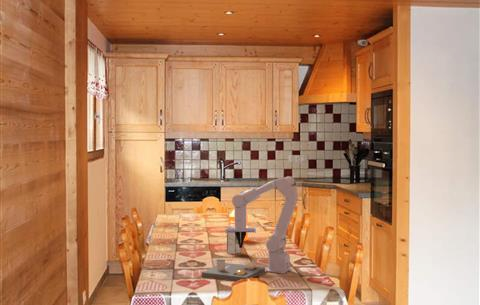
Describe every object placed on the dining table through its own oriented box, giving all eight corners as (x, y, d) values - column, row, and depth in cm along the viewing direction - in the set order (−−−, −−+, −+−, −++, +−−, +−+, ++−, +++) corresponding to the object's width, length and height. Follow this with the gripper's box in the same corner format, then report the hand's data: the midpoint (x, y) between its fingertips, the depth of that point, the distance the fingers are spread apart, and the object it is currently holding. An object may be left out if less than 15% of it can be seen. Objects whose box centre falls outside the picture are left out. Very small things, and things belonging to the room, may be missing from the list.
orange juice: (247, 239, 333) (247, 206, 332) (239, 242, 326) (238, 208, 325) (237, 238, 337) (237, 205, 337) (228, 240, 330) (228, 207, 330)
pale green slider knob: (225, 269, 252) (225, 259, 252) (223, 270, 251) (223, 260, 251) (218, 268, 254) (218, 258, 254) (216, 269, 252) (216, 259, 252)
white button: (256, 268, 255) (256, 262, 255) (252, 270, 252) (252, 264, 252) (248, 267, 257) (248, 261, 257) (244, 269, 254) (244, 263, 254)
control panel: (265, 271, 257) (265, 267, 257) (245, 282, 239) (245, 277, 239) (223, 266, 267) (223, 262, 267) (201, 276, 249) (201, 272, 249)
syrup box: (233, 251, 301) (233, 224, 300) (242, 252, 297) (241, 225, 296) (226, 253, 296) (226, 226, 296) (235, 254, 293) (234, 227, 292)
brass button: (246, 276, 247) (246, 270, 246) (242, 278, 243) (242, 272, 243) (238, 275, 248) (238, 269, 248) (234, 277, 245) (234, 271, 245)
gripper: (225, 221, 262) (225, 249, 263) (256, 220, 263) (256, 249, 263) (225, 218, 269) (225, 246, 270) (255, 218, 270) (255, 246, 270)
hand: (240, 247), depth 267 cm, fingers closed
